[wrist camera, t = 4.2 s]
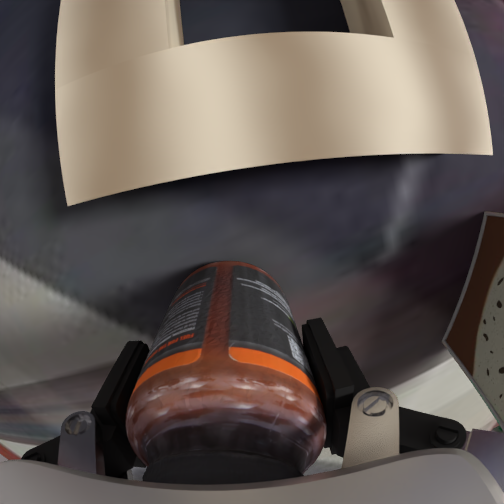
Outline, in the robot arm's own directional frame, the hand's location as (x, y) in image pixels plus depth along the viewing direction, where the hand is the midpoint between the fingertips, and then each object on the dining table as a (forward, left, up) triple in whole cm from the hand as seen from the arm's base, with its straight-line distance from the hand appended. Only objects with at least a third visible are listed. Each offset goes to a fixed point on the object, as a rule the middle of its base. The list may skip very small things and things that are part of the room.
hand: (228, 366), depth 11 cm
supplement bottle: (0, 0, -5) cm, 5 cm away
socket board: (-4, -16, -5) cm, 17 cm away
